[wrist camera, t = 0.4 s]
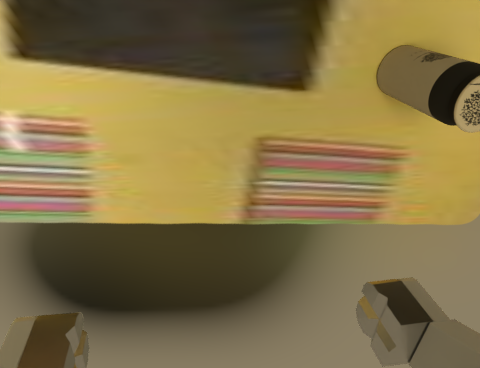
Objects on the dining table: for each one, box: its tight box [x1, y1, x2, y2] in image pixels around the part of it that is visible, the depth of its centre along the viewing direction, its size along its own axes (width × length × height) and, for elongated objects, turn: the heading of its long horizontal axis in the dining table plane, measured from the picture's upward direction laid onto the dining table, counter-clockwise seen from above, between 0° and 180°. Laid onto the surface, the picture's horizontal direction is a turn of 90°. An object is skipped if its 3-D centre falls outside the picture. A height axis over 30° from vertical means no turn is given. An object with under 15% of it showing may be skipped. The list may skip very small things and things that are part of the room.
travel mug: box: [377, 45, 480, 132], centre depth 49 cm, size 8×8×18 cm
